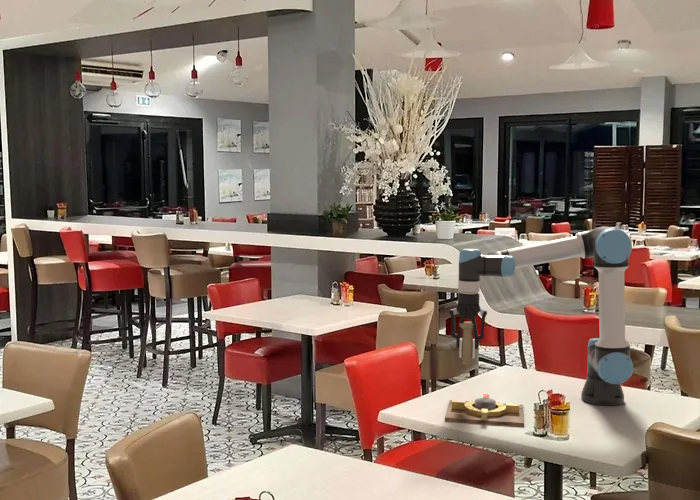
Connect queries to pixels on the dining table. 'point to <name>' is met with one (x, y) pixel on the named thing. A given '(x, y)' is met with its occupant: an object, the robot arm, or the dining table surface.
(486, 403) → the board
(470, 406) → the ring nut
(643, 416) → the dining table surface
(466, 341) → the handle
